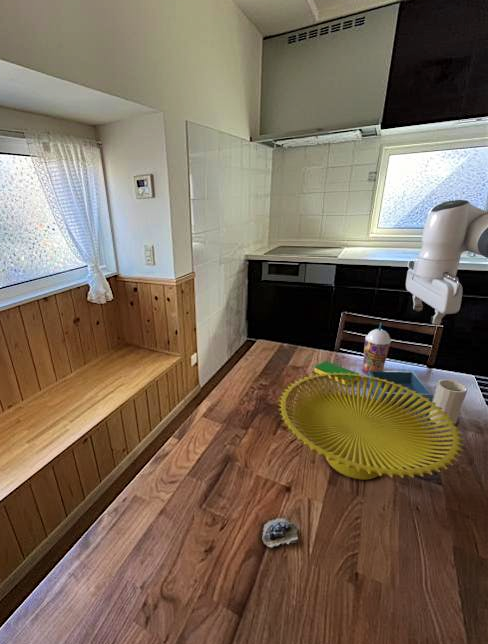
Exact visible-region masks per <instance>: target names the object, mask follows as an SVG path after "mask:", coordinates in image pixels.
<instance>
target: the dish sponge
mask: <svg viewBox="0 0 488 644" xmlns="http://www.w3.org/2000/svg"><path fill="white" fill-rule="evenodd" d="M334 372H335V373H341V372H342V373H346V374H348V372H349V373H350V374H355V373H356V374H358V375H360V374H359V372H356V371H353V370H350V369H348V368H346V367H342V366H341V365H338V364H334V363H332V362H329V361H327V360H324V361H322V362H320V363H319V364H317V365H316V366H314V373H315V374H318V375H321V373H323V374H328V373H334ZM328 377H329V380H330V379H331V380H332V378H331V376H330V375H328ZM341 379H342V385H343V386H345V381H344V377H343V375H341ZM335 380H336V383H337V382H338V383H339V381H338V378H337V375H335ZM355 382H357V376H355V378H354V383H355ZM348 386H349V387H350V386H351V379H350V375H348Z"/></svg>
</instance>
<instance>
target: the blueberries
mask: <svg viewBox="0 0 488 644" xmlns="http://www.w3.org/2000/svg"><path fill="white" fill-rule="evenodd" d="M289 521H290V519H289V518H288V517H278V518H277V517H276V518H275V519H274V518H273V519H272V520H268V521H267V522H266V523H265V524H264V525H263V527H262V531H263V532H262V536H261V540H262V542H263V544H264V545H266V546H267V547H269V548H274V547H279V546H280V545H281V544H282V546H283V545H284V544H286V545H290V543H291V544H295V543H297V542H298V540H299V534H298V527H297V526H294V523H293V522H289Z"/></svg>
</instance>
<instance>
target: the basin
mask: <svg viewBox="0 0 488 644" xmlns="http://www.w3.org/2000/svg"><path fill="white" fill-rule="evenodd" d="M370 375H371V376H372V377H374V378H377V377H378V378H379V379H382V380H385V379H386V380H387V381H389V382H394V383H395V384H397V385H400V384H401V386H403V387H406V388H407V387H409V388H408V389H409V390H411V391H416V393H417V394H422V395H423V396H422V397H424V398H429V399H430V400H429V401H430V402H432V401H433V398H434V393H433V392H432V391H431V390H430V389H429V387H428V386H427V385H426V384H425V383H424V382H423V381H422V380H421V379H420V378H419V377H418V375H417V374H416V373H415V371H412V370H411V371H407V370H383V371H375V370H368V373H367V375H366V376H370ZM370 383H371V378H369V380H368V383H367V386H368V387H369V388H370ZM385 383H386V382H383V383H382V385H381V388H380V390H379V392H378V395H377V398H376V401H377V400H378V398H379V396H380V395H381V392H382V390H383V388H384V386H385ZM377 384H378V380H376V381H375V384H374V387H373V390H372V394H373V395H374V393H375V390H376V387H377ZM392 386H393V384H390V386H389V387H388V389H387V391H386V392H385V394H384V396H383V398H382V401H381V402H383V401H384V399H385V398H386V396H387V395H388V393H389V391H390V390H391V388H392ZM399 389H400V387H397V388H396V390H395V391H394V392H393V394H392V395H391V397H390V398H389V400H388V401H387V403H386V405H387V404H388V403H389V402H390V401H391V400H392V398H393V397H394V396H395V395H396V393H397V392H398V390H399ZM406 392H407V390H404V391H403V392H402V393H401V394H400V395H399V396H398V398H397V399H396V400H395V401H394V403H393V404H392V406H393V405H394V404H396V403H397V402H398V401H399V400H400V399H401V397H402V396H403V395H404V394H405V393H406ZM413 395H414V394H413V393H411V394H410V395H409V396H408V397H407V398H406V399H404V400H403V401H402V402H401V403H400V405H399V406H398V407H400V406H402V405H403V404H404V403H405V402H407V401H408V400H409V399H410V398H411V397H412V396H413ZM419 399H420V397H417V398H416V399H414V400H413V401H412V402H410V403H409V404H408V405H407V406H406V407H407V408H408V407H410V406H411V405H412V404H414V403H415V402H416V401H418V400H419ZM426 402H427V401H423V402H421V403H420V404H418V405H417V406H415V407H414V408H419V407H420V406H422V405H423V404H425V403H426ZM392 406H391V407H392ZM406 407H405V408H406ZM430 407H431V405H429V406H427V407H425V408H424V409H429V408H430Z"/></svg>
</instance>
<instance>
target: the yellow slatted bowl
mask: <svg viewBox="0 0 488 644" xmlns="http://www.w3.org/2000/svg"><path fill="white" fill-rule="evenodd" d="M356 373H357V372H356ZM356 373H355V374H350V373H349V372H348V374H346V373H342V372H341V373H335V372H334V373H328V374H323V373H321V374H318V373H315V374H314V375H309V376H304V378H299V380H294V383H292V382H290V385H287V386H286V387H287V388H284V389H283V391H285V392H281V394H282V395H281V396H279V398H281V399H278V402H279V403H280V404H278V407H280V408H277V410H278V411H279V412H281V413H279V415H280V416H282V418H280V420H281V421H283V422H284V423H283V425H284V426H287V427H288V428H287V429H286V430H287V431H290V432H292V434H291V435H292V436H294V437H296V438H297V439H296V440H297V441H298V442H302V443H304V444H303V446H305V447H309V448H310V451H311V452H317V453H318V456H319V457H320V456H321V457H325V459H326V461H327V463H328V464H329V465H330V466H331V467H332V468H333V469H334V470H335V471H336V472H338V473H339V474H340V475H341V474H342V475H344V476H345V477H348V478H351V479H354V480H363V481H364V480H365V481H367V480H372V479H375V478H377V477H382V476H383V475H387V476H389V478H394V476H398V477H400V478H402V479H403V478H405V477H404V476H407V477H410V478H415V475H417V476H420V477H424V474H427V475H431V476H432V475H433V472H437V473H441V470H440V469H444V470H449V468H448V467H447V466H446V465H449V466H453V465H454V464H453V463H452V462H453V461H454V462H458V461H459V460H458V458H456V457H462V455H461V454H460V453H459V452H464V449H462V448H460V447H462V446H464V444H463V443H462V442H461V441H465V439H464V438H461V437H460V436H461V435H463V433H461V432H459V430H461V428H460V427H457V426H456V425H457V422H456V423H455V422H452V421H451V420H450V419H452V417H449V416H447V415H446V414H447V413H448V412H444V411H442V410H441V409H442V407H437V406H436V405H435V404H436V403H433V402H430V401H429V400H430V399H429V398H424V397H422V396H423V395H422V394H417V393H416V391H411V390H409V389H408V388H409V387H407V388H406V387H403V386H401V384H400V385H397V384H395V383H394V382H389V381H387V380H386V379H385V380H382V379H379V378H378V377H377V378H374V377H372V376H371V375H370V376H367V375H365V374H364V373H362V374H359V373H358V374H359V375H358V374H356ZM328 375H330V376H331V378H332V379H331V380H330V378H329V377H328ZM335 375H337V378H338V381H339V382H338V384H337V381H336V380H335ZM341 375H343V377H344V381H345V385H344V384H342V379H341ZM348 375H350V379H351V384H350V385H349V386H348ZM355 376H357V380H356V391H355V382H354V378H355ZM323 377H324V378H325V380H326V382H325V380H324V378H323ZM362 378H363V385H362ZM369 378H371V383H370V387H369V388H368V384H367V383H368V380H369ZM312 379H313V380H312ZM319 380H320V381H319ZM376 380H378V384H377V387H376V390H375V393H374V394H373V392H372V390H373V387H374V384H375V381H376ZM331 381H332V382H331ZM308 382H309V383H308ZM383 382H386V383H385V386H384V388H383V390H382V392H381V395H380V396H379V398H378V400H377V399H376V398H377V395H378V392H379V390H380V388H381V385H382V383H383ZM326 383H327V385H328V386H327V385H326ZM332 383H333V386H332ZM390 384H393V386H392V388H391V390H390V391H389V393H388V395H387V396H386V398H385V399H384V401H383V402H381V401H382V398H383V396H384V394H385V392H386V391H387V389H388V387H389V386H390ZM310 385H311V386H312V387H313V388H312V387H311V386H310ZM316 385H317V386H316ZM338 385H339V387H338ZM361 385H362V392H361ZM344 386H345V389H344ZM349 387H350V388H349ZM397 387H400V389H399V390H398V392H397V393H396V395H395V396H394V397H393V398H392V400H391V401H390V402H389V403H388V404H387V405H386V403H387V401H388V400H389V398H390V397H391V395H392V394H393V392H394V391H395V390H396V388H397ZM339 388H340V389H339ZM367 388H368V392H367ZM308 389H309V390H308ZM334 389H335V390H334ZM404 390H407V392H406V393H405V394H404V395H403V396H402V397H401V399H400V400H399V401H398V402H397V403H396V404H394V405H393V406H392V404H393V403H394V401H395V400H396V399H397V398H398V396H399V395H400V394H401V393H402V392H403V391H404ZM301 393H302V394H301ZM411 393H413V394H414V395H413V396H412V397H411V398H410V399H409V400H408V401H407V402H405V403H404V404H403V405H402V406H399V405H400V403H401V402H402V401H403V400H404V399H406V398H407V397H408V396H409V395H410V394H411ZM290 394H291V395H290ZM372 394H373V396H372ZM417 397H420V399H419V400H418V401H416V402H415V403H414V404H412V405H411V406H410V407H407V408H406V406H407V405H408V404H409V403H410V402H412V401H413V400H414V399H416V398H417ZM423 401H427V402H426V403H425V404H423V405H422V406H420V407H415V406H417V405H418V404H420V403H421V402H423ZM291 404H292V405H291ZM429 405H432V407H430V408H425V407H427V406H429ZM414 408H415V409H414ZM412 409H413V410H412ZM424 409H425V410H424ZM436 409H437V410H438V411H437V412H435V413H433V414H430V415H429V412H431V411H433V410H436ZM411 410H412V411H411ZM422 410H423V411H422ZM420 411H421V412H420ZM418 412H420V413H418ZM416 413H417V414H416ZM426 414H428V415H426ZM439 414H441V415H442V416H440V417H438V418H435V419H433V420H428V419H430V418H431V417H434V416H436V415H439ZM424 415H426V416H424ZM422 416H423V417H422ZM420 417H421V418H420ZM443 419H446V421H444V422H441V423H438V424H436V423H435V424H433V423H434V422H436V421H439V420H443ZM426 420H427V421H426ZM446 424H449V426H442V425H446ZM454 424H456V425H454ZM438 427H439V428H438ZM447 430H450V431H447ZM442 431H445V432H442ZM437 432H440V433H437ZM447 435H448V436H447ZM450 435H452V436H450ZM441 436H443V437H441ZM451 440H452V441H451ZM437 441H438V442H437ZM442 441H443V442H442ZM443 445H444V446H443ZM445 445H446V446H445ZM447 445H448V446H447ZM449 445H450V446H449ZM451 461H452V462H451ZM432 471H433V472H432Z"/></svg>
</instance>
